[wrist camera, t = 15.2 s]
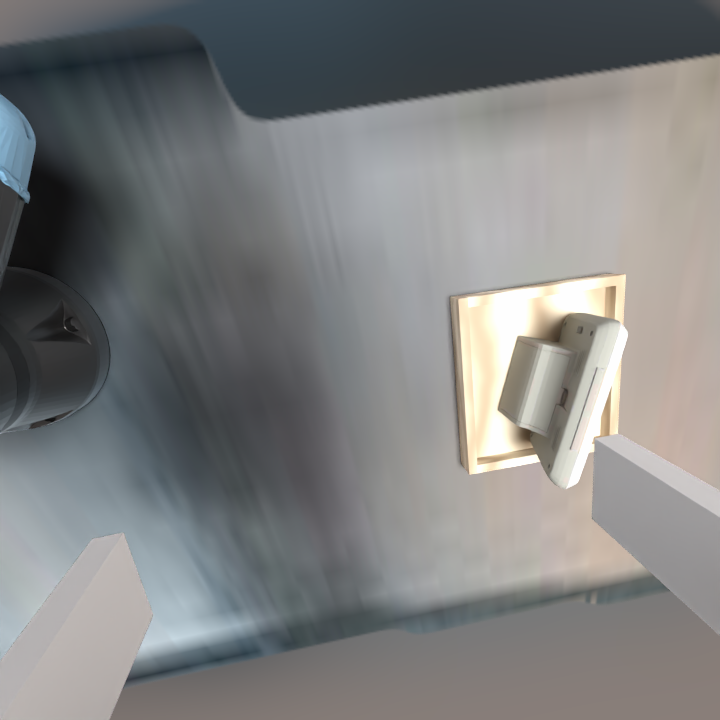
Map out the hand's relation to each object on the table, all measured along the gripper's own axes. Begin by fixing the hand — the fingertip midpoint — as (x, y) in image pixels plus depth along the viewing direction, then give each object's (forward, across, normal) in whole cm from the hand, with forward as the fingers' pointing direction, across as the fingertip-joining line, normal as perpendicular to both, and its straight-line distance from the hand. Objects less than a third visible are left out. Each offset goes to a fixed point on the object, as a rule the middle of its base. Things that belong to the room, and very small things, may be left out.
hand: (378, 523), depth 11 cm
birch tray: (+30, +22, -9) cm, 39 cm away
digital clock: (+30, +23, -9) cm, 39 cm away
